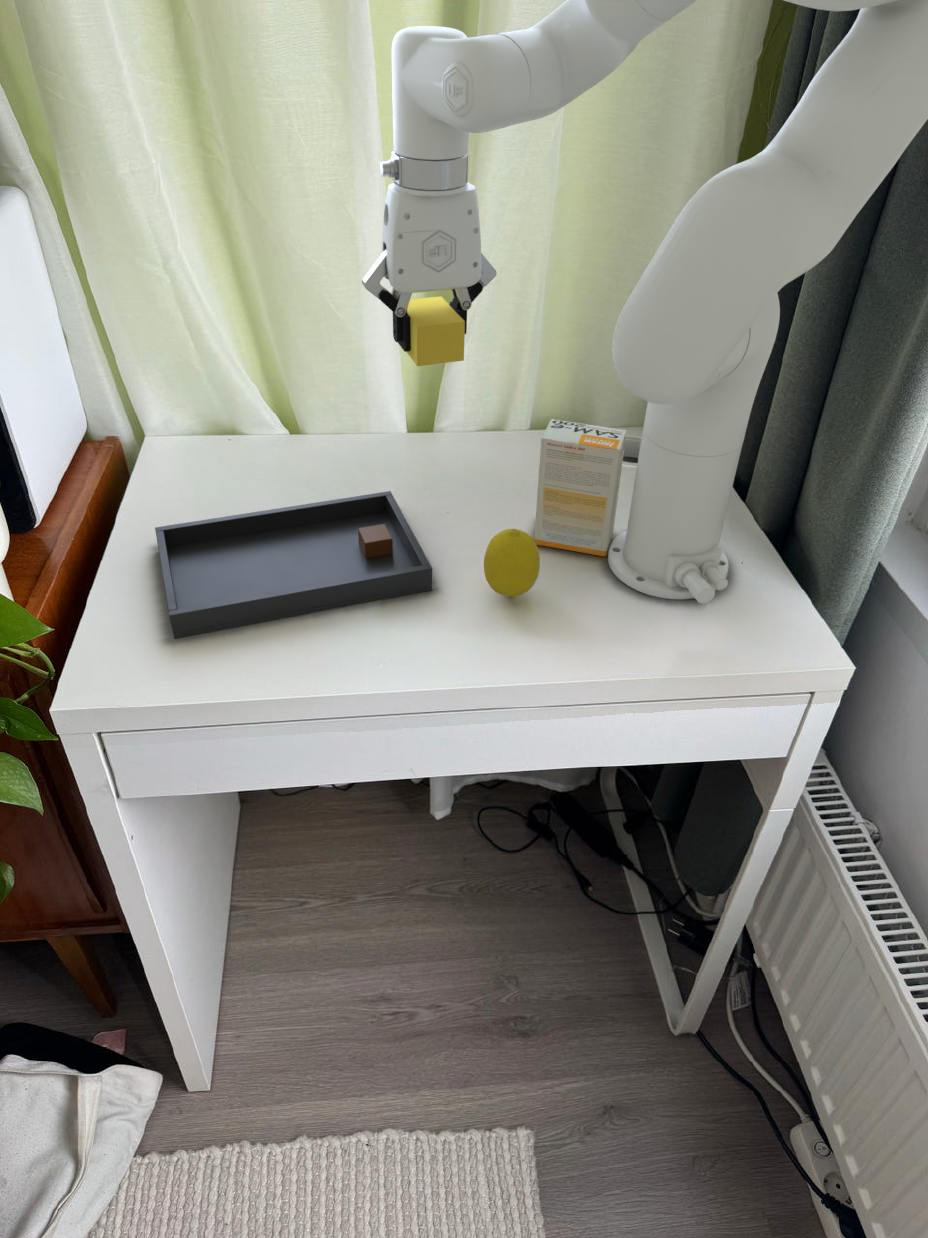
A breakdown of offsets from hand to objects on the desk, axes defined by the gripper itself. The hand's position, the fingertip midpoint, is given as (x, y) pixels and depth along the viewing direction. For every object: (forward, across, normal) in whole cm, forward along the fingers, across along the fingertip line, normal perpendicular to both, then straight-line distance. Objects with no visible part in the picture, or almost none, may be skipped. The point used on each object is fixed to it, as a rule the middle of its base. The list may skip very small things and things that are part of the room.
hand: (430, 342), depth 105 cm
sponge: (+1, 0, 0) cm, 1 cm away
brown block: (+15, -12, -17) cm, 25 cm away
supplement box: (+16, +10, -21) cm, 28 cm away
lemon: (+16, -1, -28) cm, 32 cm away
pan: (+15, -21, -17) cm, 31 cm away
